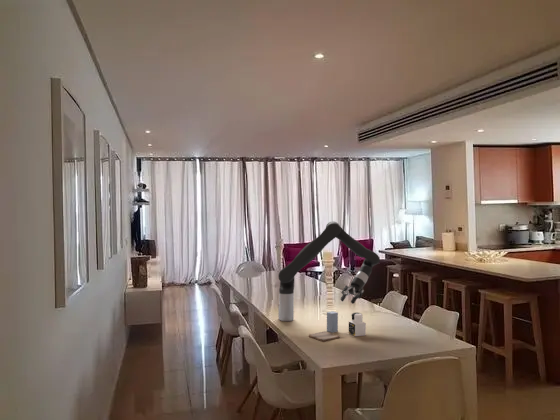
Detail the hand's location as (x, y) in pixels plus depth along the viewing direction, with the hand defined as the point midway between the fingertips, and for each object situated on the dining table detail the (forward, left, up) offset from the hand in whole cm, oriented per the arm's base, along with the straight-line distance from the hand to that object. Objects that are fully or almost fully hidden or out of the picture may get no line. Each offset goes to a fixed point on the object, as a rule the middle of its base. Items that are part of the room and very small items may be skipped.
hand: (346, 301), depth 270 cm
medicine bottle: (+13, -5, -16) cm, 21 cm away
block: (0, -12, -16) cm, 20 cm away
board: (+6, -24, -16) cm, 29 cm away
